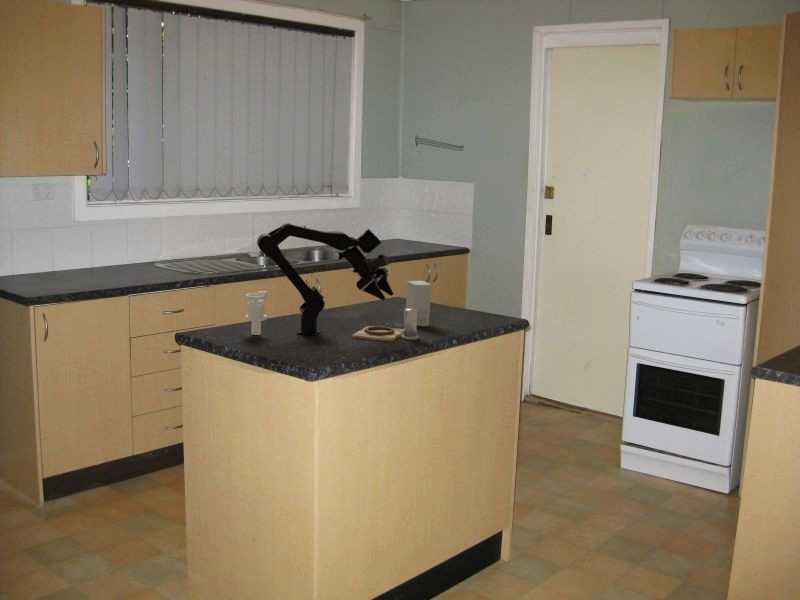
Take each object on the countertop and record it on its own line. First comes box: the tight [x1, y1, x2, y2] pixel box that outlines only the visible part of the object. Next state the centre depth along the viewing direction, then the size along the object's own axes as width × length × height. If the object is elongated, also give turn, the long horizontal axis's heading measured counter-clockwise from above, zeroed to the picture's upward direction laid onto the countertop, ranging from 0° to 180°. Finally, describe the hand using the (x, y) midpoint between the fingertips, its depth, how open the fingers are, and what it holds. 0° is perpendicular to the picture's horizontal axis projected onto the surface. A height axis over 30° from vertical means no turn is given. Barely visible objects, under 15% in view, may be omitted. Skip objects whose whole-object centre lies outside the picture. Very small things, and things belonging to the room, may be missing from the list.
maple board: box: [351, 325, 404, 343], centre depth 308 cm, size 16×14×2 cm
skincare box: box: [405, 280, 433, 327], centre depth 326 cm, size 8×7×16 cm
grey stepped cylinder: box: [244, 290, 268, 336], centre depth 302 cm, size 7×7×15 cm
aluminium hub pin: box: [400, 307, 420, 341], centre depth 304 cm, size 6×6×10 cm
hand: (388, 297), depth 306 cm, fingers open, 9 cm apart
